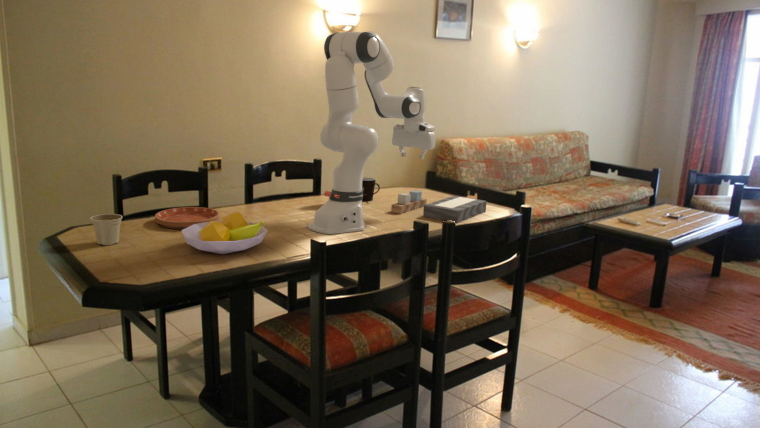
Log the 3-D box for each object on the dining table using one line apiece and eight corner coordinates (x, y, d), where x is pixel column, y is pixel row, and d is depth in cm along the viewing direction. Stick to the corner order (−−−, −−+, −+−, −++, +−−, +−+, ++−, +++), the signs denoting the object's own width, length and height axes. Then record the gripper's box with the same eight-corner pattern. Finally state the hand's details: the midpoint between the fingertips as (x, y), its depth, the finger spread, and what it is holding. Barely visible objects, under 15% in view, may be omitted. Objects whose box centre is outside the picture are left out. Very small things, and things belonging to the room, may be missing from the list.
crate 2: (416, 201, 252) (417, 192, 251) (409, 200, 254) (409, 191, 253) (421, 200, 255) (421, 191, 254) (413, 198, 257) (414, 190, 256)
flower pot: (115, 237, 191) (113, 212, 189) (129, 243, 185) (128, 217, 183) (87, 242, 184) (84, 216, 182) (100, 248, 178) (98, 222, 176)
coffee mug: (353, 198, 269) (354, 177, 267) (370, 197, 273) (371, 177, 270) (363, 203, 259) (364, 182, 257) (380, 202, 262) (381, 181, 260)
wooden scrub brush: (401, 215, 241) (401, 206, 240) (391, 213, 244) (391, 204, 243) (426, 207, 259) (426, 198, 258) (416, 205, 262) (417, 197, 261)
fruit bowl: (167, 245, 184) (166, 211, 181) (241, 232, 203) (240, 201, 200) (210, 267, 165) (208, 230, 162) (286, 251, 183) (286, 217, 181)
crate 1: (405, 204, 245) (405, 195, 244) (397, 203, 247) (398, 194, 246) (410, 203, 248) (410, 194, 247) (402, 201, 250) (402, 192, 249)
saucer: (217, 230, 205) (217, 220, 204) (150, 231, 200) (150, 221, 199) (221, 215, 227) (220, 206, 226) (160, 216, 222) (160, 207, 221)
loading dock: (457, 223, 230) (458, 210, 228) (423, 216, 238) (423, 204, 237) (485, 211, 252) (486, 200, 251) (453, 206, 261) (454, 195, 260)
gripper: (389, 124, 246) (388, 155, 249) (430, 128, 235) (429, 161, 238) (397, 123, 251) (396, 154, 254) (438, 127, 240) (436, 159, 243)
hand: (412, 157), depth 246 cm, fingers open, 8 cm apart
